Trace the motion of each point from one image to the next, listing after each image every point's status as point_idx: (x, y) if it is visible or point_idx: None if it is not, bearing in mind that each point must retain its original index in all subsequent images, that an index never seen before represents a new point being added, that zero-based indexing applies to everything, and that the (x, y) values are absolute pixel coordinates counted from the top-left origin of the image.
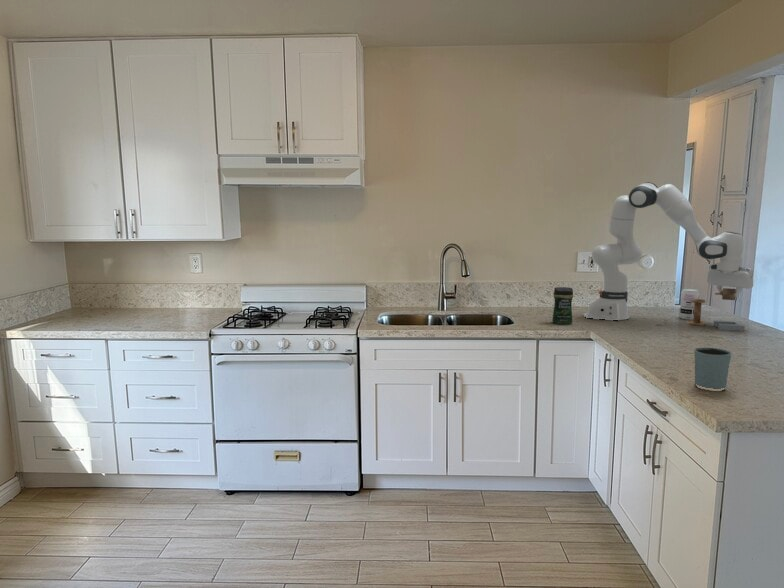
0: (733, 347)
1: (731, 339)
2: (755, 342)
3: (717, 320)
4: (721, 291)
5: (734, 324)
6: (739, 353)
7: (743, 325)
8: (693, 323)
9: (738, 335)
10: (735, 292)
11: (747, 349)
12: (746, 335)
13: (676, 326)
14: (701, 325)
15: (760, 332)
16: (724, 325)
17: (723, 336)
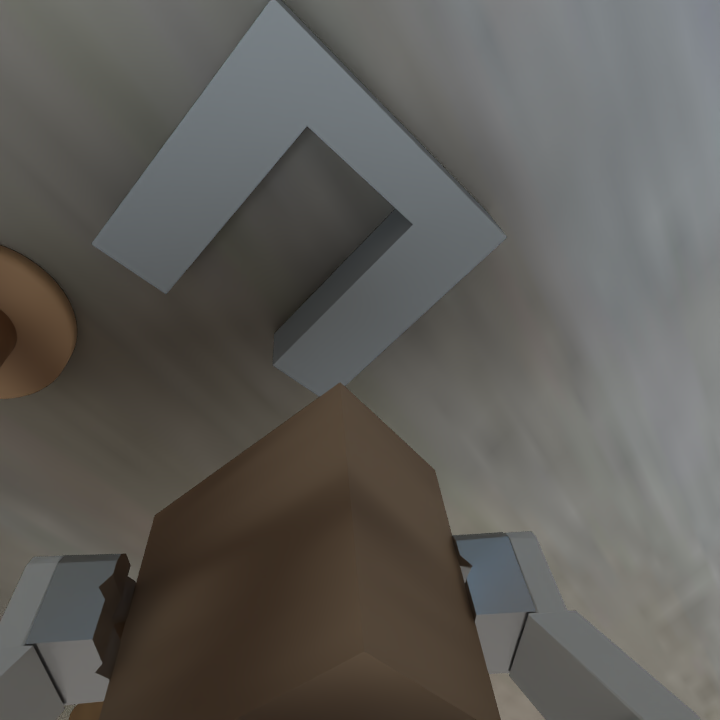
0: (640, 632)
1: (558, 528)
2: (702, 482)
3: (117, 215)
4: (78, 688)
5: (395, 263)
6: (697, 673)
7: (488, 229)
8: (24, 394)
9: (536, 406)
10: (470, 641)
11: (707, 614)
12: (580, 357)
13: (46, 525)
14: (76, 336)
15: (631, 115)
16: (356, 372)
17: (480, 507)
